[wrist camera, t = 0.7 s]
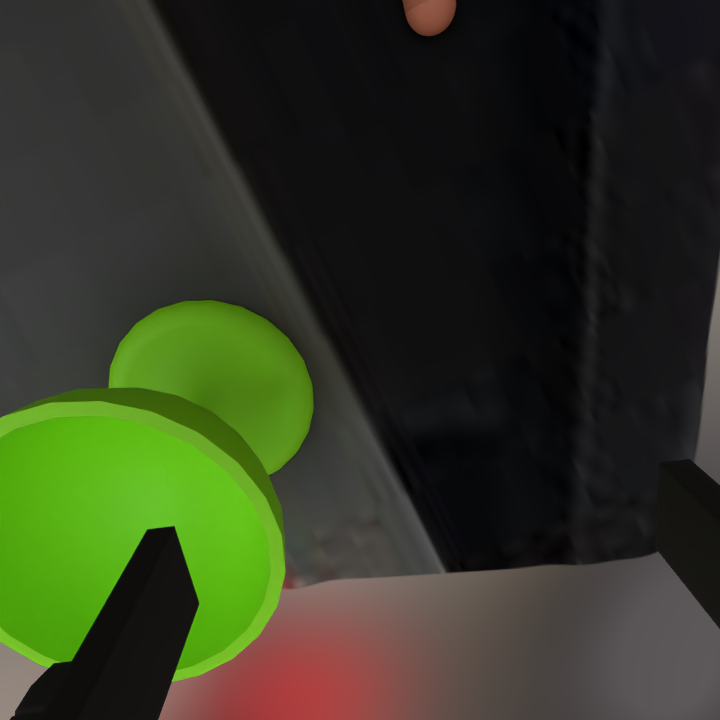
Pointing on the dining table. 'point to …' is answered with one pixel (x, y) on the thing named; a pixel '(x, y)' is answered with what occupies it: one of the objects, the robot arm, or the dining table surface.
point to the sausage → (429, 15)
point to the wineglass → (155, 482)
